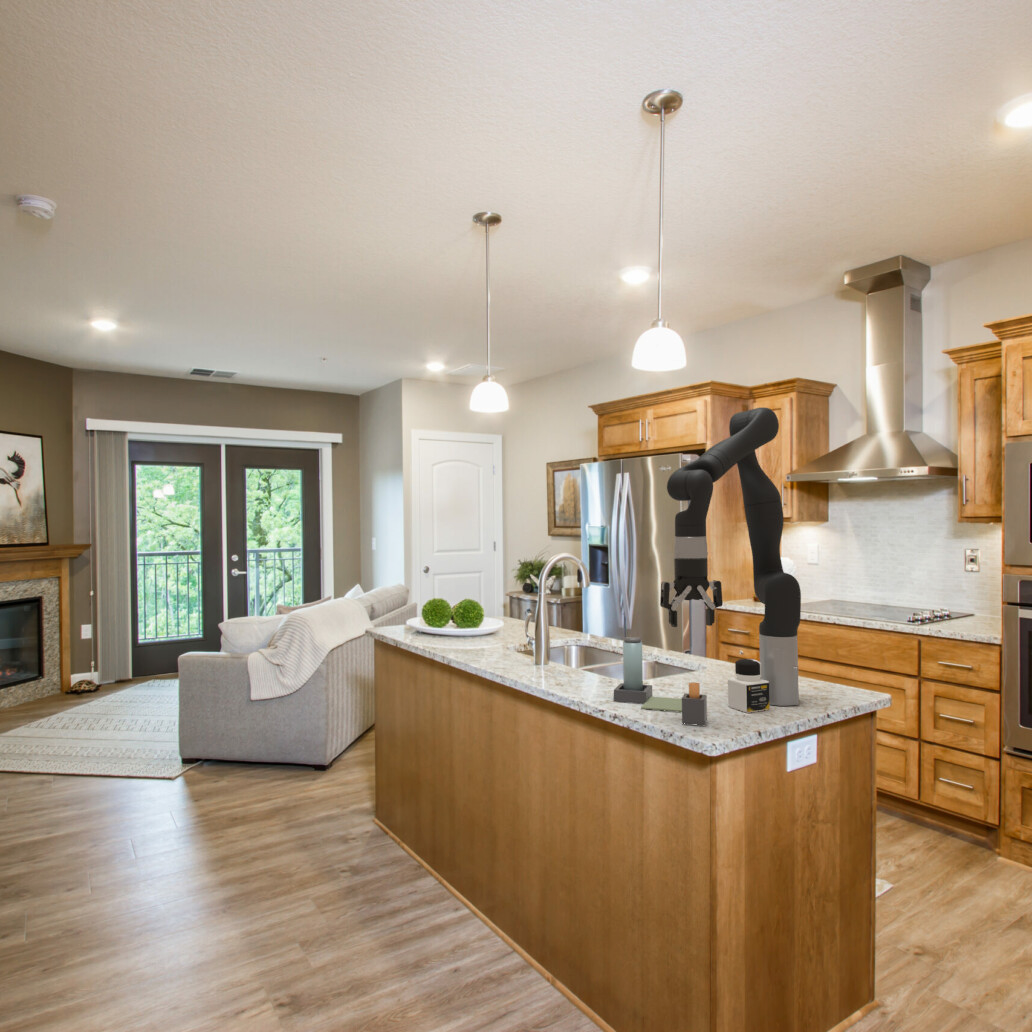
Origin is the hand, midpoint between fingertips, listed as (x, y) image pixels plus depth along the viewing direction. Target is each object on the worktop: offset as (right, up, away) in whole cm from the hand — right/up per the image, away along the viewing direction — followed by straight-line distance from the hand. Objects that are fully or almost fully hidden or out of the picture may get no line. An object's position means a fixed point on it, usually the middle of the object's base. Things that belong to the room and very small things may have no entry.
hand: (691, 626), depth 170 cm
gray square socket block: (+1, -22, -1) cm, 22 cm away
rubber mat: (-2, -22, +15) cm, 27 cm away
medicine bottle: (+17, -22, +11) cm, 30 cm away
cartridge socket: (-10, -23, +23) cm, 33 cm away
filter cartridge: (-10, -23, +23) cm, 34 cm away
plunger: (+1, -19, -1) cm, 19 cm away
